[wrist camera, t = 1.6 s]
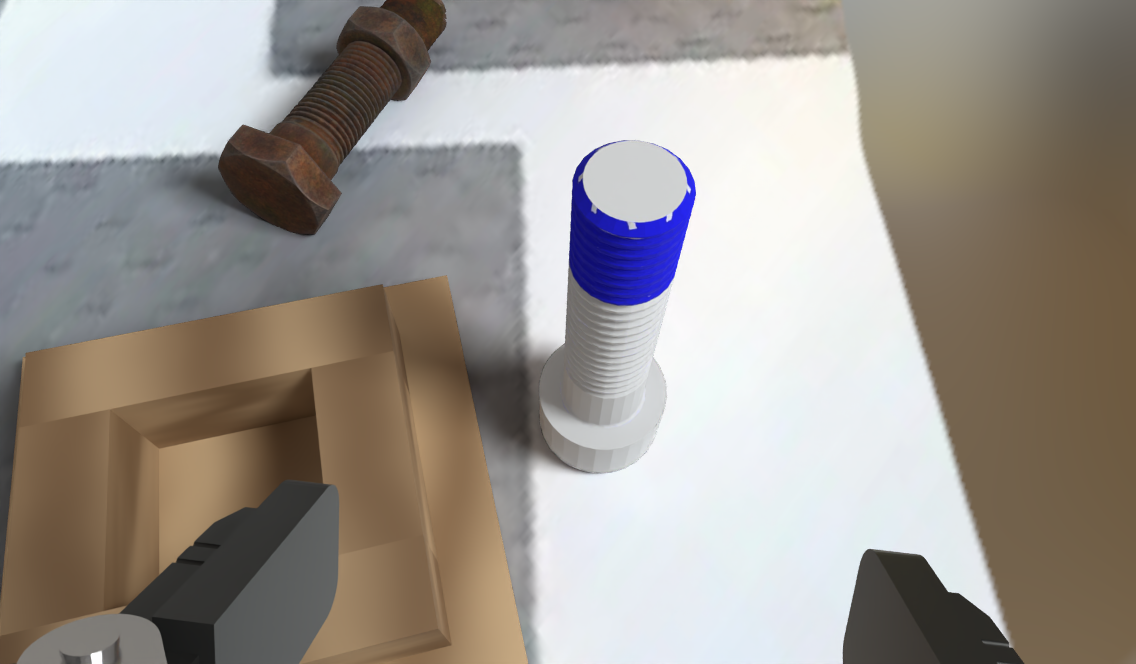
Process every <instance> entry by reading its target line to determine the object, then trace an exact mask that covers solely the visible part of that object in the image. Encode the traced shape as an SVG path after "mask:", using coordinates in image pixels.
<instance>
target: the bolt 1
mask: <svg viewBox="0 0 1136 664" xmlns="http://www.w3.org/2000/svg"><path fill="white" fill-rule="evenodd" d="M445 12H446V9H445V6H444V4H443V2H442V1H441V0H386V1H385V2H384V4H383V5H382V6H381V7H380V8H377V7H364V6H360V7H359V8H358V9H357V10H356V11H355V12H354V13H353V15H352V16H351V17H350V18H349V19H348V21H347V23H346V25H345V26H344V28H343V30H342V32H341V34H340V36H339V39H338V42H337V51H338V54H339V56H338V57H337V58H336V60H334V62H333V63H332V64H331V65H330V67H329V68H328V69H327V70H326V71H325V73H323V75H322V76H321V77H320V78H319V79H318V81H317V82H316V83H315V84H314V85H313V87H312V88H311V89H310V90H309V91H308V93H307V94H306V95H305V96H304V97H303V99H302V100H301V101H300V102H299V103H298V105H296V106H295V107H294V109H293V110H292V111H291V112H290V114H289V115H287V117H286V118H285V119H284V120H283V121H282V122H281V123H279V124H277V125H276V126H275V127H274V129H273V130H272V131H271V132H270V133H266V132H263V131H260V130H257V129H254V128H252V127H249V126H246V125H242V126H241V127H240V128H239V129H238V130H237V131H236V133H235V134H234V135H233V136H232V137H231V138H230V139H229V141H228V142H227V144H226V146H225V148H224V150H223V152H222V154H221V157H220V160H219V165H218V169H219V171H220V173H221V175H222V177H223V179H224V181H225V183H226V184H227V186H228V188H229V189H230V191H231V193H232V194H233V195H234V196H235V197H236V198H237V200H239V201H240V202H241V203H242V204H243V205H245V206H246V207H247V208H249V209H250V210H251V211H253V212H254V213H255V214H257V215H258V216H259V217H261V218H262V219H264V220H266V221H267V222H269V223H271V224H272V225H275V226H277V227H280V228H282V229H285V230H287V231H290V232H293V233H299V234H316V232H317V231H318V230H319V228H320V227H321V226H322V224H323V223H324V222H325V220H326V219H327V217H328V216H329V214H330V213H331V211H332V209H333V207H334V206H335V204H336V202H337V201H338V199H339V197H340V195H341V194H342V193H341V192H340V191H339V190H338V188H337V187H336V186H335V185H334V184H333V183H332V181H331V180H332V178H333V177H334V175H335V174H336V173H337V171H338V167H339V165H340V164H341V163H342V162H343V160H344V159H345V158H346V157H347V155H348V154H349V153H350V151H351V150H352V149H353V147H354V146H355V145H356V144H357V142H358V141H359V140H360V138H361V137H362V136H363V134H364V133H365V132H366V131H367V129H368V128H369V127H370V125H371V124H372V123H373V122H374V119H376V118H377V116H378V115H379V113H380V112H381V111H382V110H383V109H384V107H385V106H386V105H387V103H388V102H389V101H390V100H406V99H407V98H408V97H409V95H410V94H411V93H412V91H413V90H414V89H415V87H416V86H417V85H418V83H419V82H420V80H421V79H422V77H423V75H424V74H425V72H426V71H427V69H428V67H429V65H430V63H431V60H430V57H429V54H428V50H429V49H430V47H431V46H432V45H433V43H434V42H435V41H436V39H437V38H438V37H439V36H440V35H441V33H442V32H443V31H444V29H445V27H446V23H447V22H446V20H445V19H446V14H445ZM444 18H445V19H444Z"/></svg>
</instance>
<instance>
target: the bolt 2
mask: <svg viewBox="0 0 1136 664" xmlns="http://www.w3.org/2000/svg"><path fill="white" fill-rule="evenodd" d="M572 182H573V189H572V203H571V204H572V211H571V231H570V251H569V269H568V293H567V315H566V335H565V344H563V345H562V346H561V347H559V348H558V349H557V350H556V351H555V352H554V353H553V354H552V355H551V357H550V358H549V359H548V360H547V362H546V364H545V366H544V368H543V370H542V374H541V377H540V381H539V410H540V414H539V418H540V425H541V431H542V434H543V436H544V439H545V441H546V443H547V444H548V446H549V447H550V449H551V450H552V451H553V452H554V454H555V455H556V456H557V457H558V458H560V459H561V460H562V461H563V462H565V463H566V464H568V465H570V466H571V467H574V468H576V469H579V470H582V471H585V472H591V473H611V472H615V471H618V470H621V469H625V468H626V467H628V466H630V465H632V464H633V463H635V462H637V461H638V460H639V459H640V458H641V457H642V456H643V455H644V454H645V453H646V452H647V450H648V449H649V447H650V445H651V444H652V442H653V440H654V438H655V436H656V433H657V430H658V427H659V424H660V421H661V418H662V415H663V412H664V409H665V404H666V398H667V391H666V382H665V379H664V375H663V373H662V371H661V368H660V366H659V364H658V363H657V362H656V360H655V359H654V358H653V355H654V351H655V347H656V344H657V339H658V336H659V332H660V328H661V325H662V321H663V317H664V313H665V310H666V306H667V302H668V298H669V294H670V291H671V287H672V283H673V279H674V276H675V272H676V268H677V264H678V260H679V257H680V253H681V250H682V246H683V241H684V238H685V234H686V230H687V227H688V223H689V219H690V216H691V212H692V208H693V205H694V200H695V196H696V190H695V181H694V179H693V177H692V175H691V172H690V170H689V169H688V167H687V166H686V165H685V164H684V163H683V161H682V160H681V159H680V158H679V157H677V156H676V155H674V154H673V153H672V152H670V151H669V150H667V149H665V148H663V147H660V146H658V145H656V144H652V143H648V142H643V141H625V140H623V141H618V142H613V143H608V144H606V145H603V146H601V147H599V148H597V149H595V150H593V151H592V152H591V153H589V154H588V155H587V156H586V157H584V158H583V160H582V161H581V163H580V164H579V165H578V167H577V168H576V171H575V174H574V177H573V180H572Z"/></svg>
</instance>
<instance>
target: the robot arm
mask: <svg viewBox="0 0 1136 664" xmlns="http://www.w3.org/2000/svg"><path fill="white" fill-rule="evenodd" d="M338 556H339V493H338V490H337V487H336V486H335V485H331V484H323V483H314V482H305V481H297V480H285V481H283V482H282V483H281V484H280V485H279V486H278V487H277V488H276V489H275V490H274V491H273V492H272V493H271V494H270V495H269V496H268V497H267V498H266V499H265V500H264V501H263V502H262V503H261V505H260V506H259V507H258V508H250V507H244V508H242V509H240V510H238V511H236V512H234V513H232V514H230V515H228V516H226V517H224V518H222V519H220V520H218V521H216V522H214V523H213V524H212V525H211V526H210V527H209V528H208V529H207V530H206V531H205V532H204V533H203V534H202V535H200V536H199V537H198V538H197V539H196V540H195V541H194V544H193V546H189V547H188V548H187V549H186V550H185V551H184V552H183V553H182V554H181V555H180V556H179V557H177V561H176V563H174V562H172V563H171V564H170V565H169V566H168V567H167V568H166V569H165V570H164V571H163V572H162V573H161V574H160V575H159V576H158V577H157V578H156V579H154V580H153V581H152V582H151V583H150V584H149V585H148V586H147V587H146V588H145V589H144V590H143V591H142V592H141V593H140V594H139V595H138V596H137V597H136V598H135V599H134V600H133V601H131V602H130V603H129V604H128V605H127V606H126V607H125V608H124V609H123V610H122V611H121V612H120V613H119V614H106V615H98V616H92V617H87V618H84V619H80V620H76V621H73V622H71V623H68V624H65V625H63V626H61V627H58V628H56V629H54V630H52V631H50V632H49V633H47V634H45V635H43V636H42V637H40V638H39V639H38V640H36V641H35V642H33V643H32V644H31V645H30V646H29V647H28V648H27V649H26V650H25V651H24V652H23V654H22V655H21V656H20V658H19V660H18V662H17V663H13V664H299V663H300V661H301V660H302V658H303V656H304V655H305V653H306V652H307V650H308V648H309V647H310V645H311V643H312V642H313V640H314V638H315V637H316V635H317V634H318V632H319V630H320V629H321V627H322V625H323V624H324V622H325V621H326V619H327V617H328V615H329V613H330V610H331V608H332V605H333V602H334V598H335V594H336V589H337V583H338ZM843 664H1024V663H1023V661H1022V660H1021V659H1020V657H1019V656H1018V654H1017V653H1016V652H1015V650H1014V649H1013V648H1009V642H1008V641H1007V640H1006V638H1005V637H1004V636H1003V634H1002V633H1001V631H1000V630H999V629H998V627H997V626H996V625H995V623H994V622H993V621H992V619H991V618H990V617H989V616H988V615H986V614H985V613H984V612H983V611H981V610H980V609H979V608H977V607H976V606H975V605H973V604H972V603H971V602H970V601H968V600H967V599H966V598H964V597H963V596H962V595H960V594H959V593H951V592H948V591H947V590H946V588H945V587H944V585H943V584H942V583H941V581H940V580H939V578H938V577H937V575H936V574H935V572H934V571H933V569H932V568H931V567H930V565H929V564H928V562H927V561H926V559H925V558H924V557H923V556H921V555H918V554H909V553H901V552H892V551H884V550H875V549H868V550H866V551H865V553H864V554H863V556H862V559H861V562H860V566H859V570H858V575H857V580H856V585H855V589H854V594H853V599H852V603H851V608H850V613H849V618H848V622H847V627H846V632H845V637H844V643H843Z"/></svg>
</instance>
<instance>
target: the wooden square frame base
mask: <svg viewBox="0 0 1136 664" xmlns="http://www.w3.org/2000/svg"><path fill="white" fill-rule="evenodd" d="M285 480H297V481H305V482H314V483H323V484H331V485H335V486H336V487H337V490H338V493H339V556H338V583H337V589H336V594H335V598H334V602H333V605H332V608H331V610H330V613H329V615H328V617H327V619H326V621H325V622H324V624H323V625H322V627H321V629H320V630H319V632H318V634H317V635H316V637H315V638H314V640H313V642H312V643H311V645H310V647H309V648H308V650H307V652H306V653H305V655H304V656H303V658H302V660H301V661H300V663H299V664H528V661H527V656H526V651H525V647H524V642H523V637H522V632H521V627H520V623H519V618H518V613H517V608H516V604H515V599H514V594H513V589H512V584H511V580H510V575H509V570H508V565H507V560H506V556H505V551H504V546H503V541H502V537H501V532H500V527H499V522H498V517H497V513H496V508H495V503H494V498H493V494H492V489H491V484H490V479H489V474H488V470H487V465H486V460H485V455H484V451H483V446H482V441H481V436H480V431H479V427H478V422H477V417H476V412H475V407H474V403H473V398H472V393H471V388H470V384H469V379H468V374H467V369H466V364H465V360H464V355H463V350H462V345H461V341H460V336H459V331H458V326H457V321H456V317H455V312H454V307H453V302H452V297H451V293H450V288H449V283H448V278H447V275H446V276H441V277H436V278H431V279H426V280H420V281H415V282H410V283H405V284H400V285H395V286H389V287H383V284H382V285H376V286H371V287H366V288H361V289H356V290H350V291H345V292H340V293H335V294H330V295H324V296H319V297H314V298H309V299H304V300H299V301H293V302H288V303H283V304H278V305H273V306H267V307H262V308H257V309H252V310H247V311H241V312H236V313H231V314H226V315H221V316H215V317H210V318H205V319H200V320H195V321H190V322H184V323H179V324H174V325H169V326H164V327H158V328H153V329H148V330H143V331H138V332H132V333H127V334H122V335H117V336H112V337H107V338H101V339H96V340H91V341H86V342H81V343H75V344H70V345H65V346H60V347H55V348H49V349H44V350H39V351H34V352H29V353H26V357H23V363H22V374H21V384H20V395H19V406H18V417H17V427H16V438H15V449H14V460H13V470H12V481H11V492H10V503H9V513H8V524H7V535H6V546H5V557H4V567H3V578H2V589H1V600H0V664H13V663H17V662H18V660H19V658H20V656H21V655H22V654H23V652H24V651H25V650H26V649H27V648H28V647H29V646H30V645H31V644H32V643H33V642H35V641H36V640H38V639H39V638H40V637H42V636H43V635H45V634H47V633H49V632H50V631H52V630H54V629H56V628H58V627H61V626H63V625H65V624H68V623H71V622H73V621H76V620H80V619H84V618H87V617H92V616H98V615H106V614H119V613H120V612H121V611H122V610H123V609H124V608H125V607H126V606H127V605H128V604H129V603H130V602H131V601H133V600H134V599H135V598H136V597H137V596H138V595H139V594H140V593H141V592H142V591H143V590H144V589H145V588H146V587H147V586H148V585H149V584H150V583H151V582H152V581H153V580H154V579H156V578H157V577H158V576H159V575H160V574H161V573H162V572H163V571H164V570H165V569H166V568H167V567H168V566H169V565H170V564H171V563H172V562H174V563H176V561H177V557H179V556H180V555H181V554H182V553H183V552H184V551H185V550H186V549H187V548H188V547H189V546H193V544H194V541H195V540H196V539H197V538H198V537H199V536H200V535H202V534H203V533H204V532H205V531H206V530H207V529H208V528H209V527H210V526H211V525H212V524H213V523H214V522H216V521H218V520H220V519H222V518H224V517H226V516H228V515H230V514H232V513H234V512H236V511H238V510H240V509H242V508H244V507H250V508H258V507H259V506H260V505H261V503H262V502H263V501H264V500H265V499H266V498H267V497H268V496H269V495H270V494H271V493H272V492H273V491H274V490H275V489H276V488H277V487H278V486H279V485H280V484H281V483H282V482H283V481H285Z"/></svg>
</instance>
